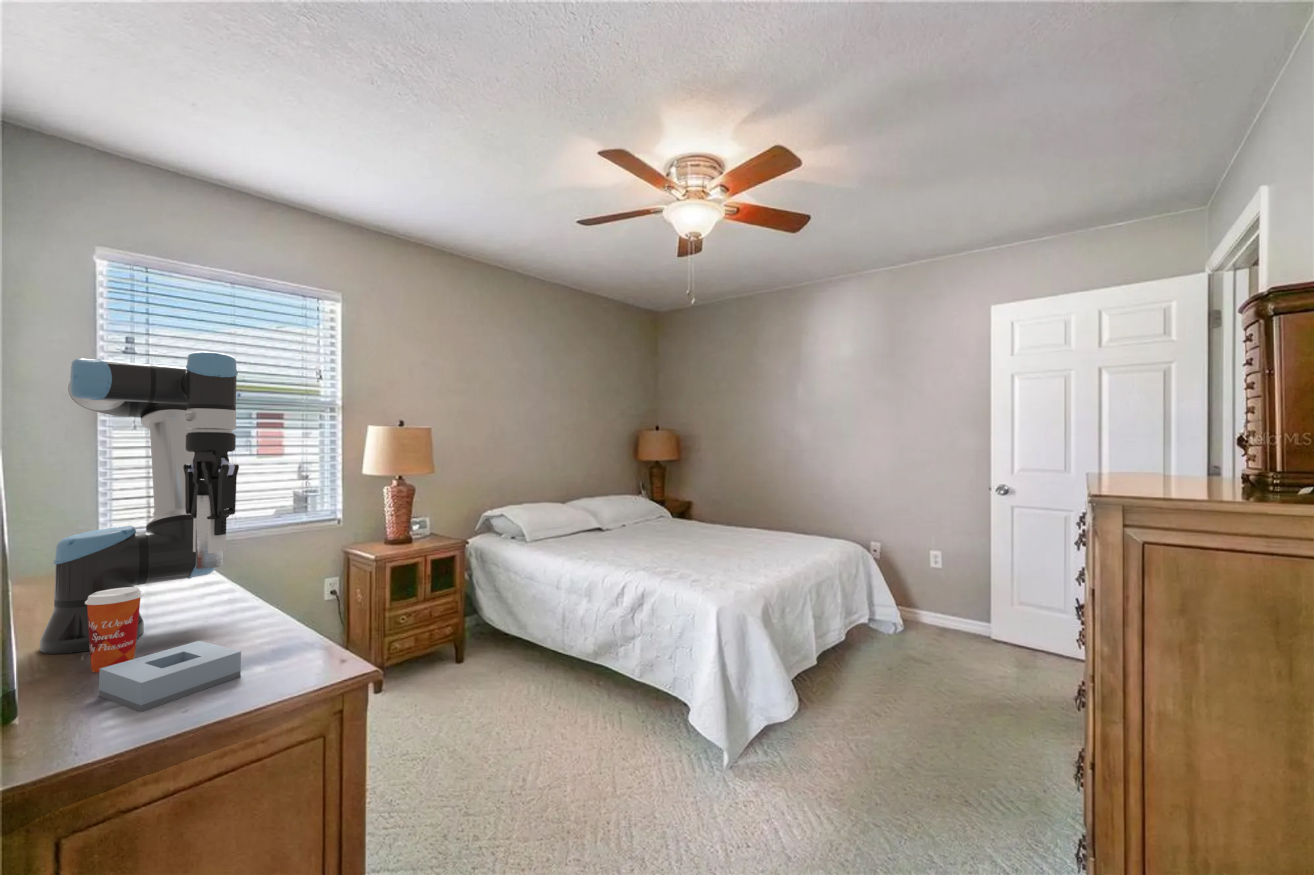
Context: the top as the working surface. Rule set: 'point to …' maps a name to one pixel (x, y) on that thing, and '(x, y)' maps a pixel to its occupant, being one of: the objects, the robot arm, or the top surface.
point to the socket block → (168, 674)
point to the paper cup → (113, 626)
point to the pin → (205, 536)
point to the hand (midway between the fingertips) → (209, 551)
